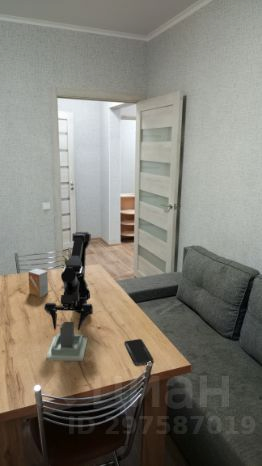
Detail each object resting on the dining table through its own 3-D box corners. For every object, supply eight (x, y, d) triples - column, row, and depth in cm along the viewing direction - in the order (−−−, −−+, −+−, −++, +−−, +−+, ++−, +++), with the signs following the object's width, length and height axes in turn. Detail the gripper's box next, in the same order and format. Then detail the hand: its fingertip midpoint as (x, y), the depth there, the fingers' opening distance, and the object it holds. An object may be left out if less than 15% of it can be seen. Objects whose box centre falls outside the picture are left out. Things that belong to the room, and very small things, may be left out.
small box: (29, 293, 178) (27, 271, 175) (37, 289, 183) (36, 267, 180) (40, 297, 174) (39, 274, 171) (48, 293, 180) (47, 271, 176)
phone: (134, 363, 123) (123, 341, 136) (134, 366, 123) (123, 343, 137) (154, 360, 125) (141, 338, 139) (154, 362, 125) (141, 340, 139)
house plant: (87, 276, 204) (87, 251, 200) (81, 285, 191) (81, 258, 187) (64, 274, 205) (64, 249, 201) (57, 283, 192) (57, 257, 188)
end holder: (54, 338, 138) (53, 331, 137) (87, 339, 138) (87, 332, 137) (45, 360, 124) (45, 351, 123) (82, 361, 124) (82, 352, 124)
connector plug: (62, 343, 133) (62, 321, 131) (74, 343, 133) (74, 321, 131) (60, 350, 128) (59, 328, 126) (72, 351, 129) (72, 328, 126)
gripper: (44, 284, 128) (37, 324, 120) (92, 285, 128) (88, 325, 120) (49, 293, 138) (44, 331, 130) (94, 294, 138) (91, 332, 130)
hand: (66, 330), depth 127 cm, fingers open, 9 cm apart
